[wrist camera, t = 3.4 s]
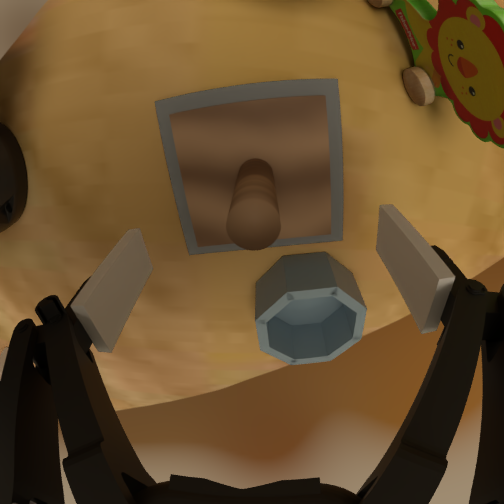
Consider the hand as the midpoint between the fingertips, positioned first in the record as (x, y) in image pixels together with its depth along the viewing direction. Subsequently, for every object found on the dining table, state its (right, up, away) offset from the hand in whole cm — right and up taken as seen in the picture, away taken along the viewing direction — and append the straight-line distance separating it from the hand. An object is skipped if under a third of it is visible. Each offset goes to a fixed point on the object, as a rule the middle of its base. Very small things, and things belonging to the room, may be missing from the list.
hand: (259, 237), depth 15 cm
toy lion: (+14, +19, +3) cm, 24 cm away
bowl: (+6, -6, +18) cm, 20 cm away
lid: (0, +6, +10) cm, 12 cm away
